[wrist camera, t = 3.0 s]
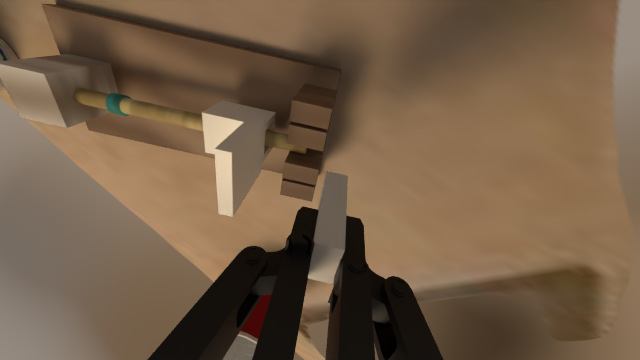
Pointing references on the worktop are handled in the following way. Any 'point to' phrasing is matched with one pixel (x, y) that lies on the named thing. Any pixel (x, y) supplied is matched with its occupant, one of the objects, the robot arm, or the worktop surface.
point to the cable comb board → (173, 90)
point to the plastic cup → (249, 333)
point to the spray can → (6, 55)
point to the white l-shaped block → (236, 149)
